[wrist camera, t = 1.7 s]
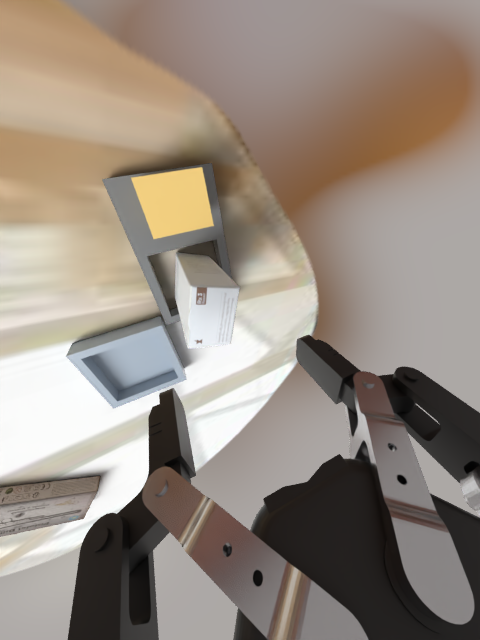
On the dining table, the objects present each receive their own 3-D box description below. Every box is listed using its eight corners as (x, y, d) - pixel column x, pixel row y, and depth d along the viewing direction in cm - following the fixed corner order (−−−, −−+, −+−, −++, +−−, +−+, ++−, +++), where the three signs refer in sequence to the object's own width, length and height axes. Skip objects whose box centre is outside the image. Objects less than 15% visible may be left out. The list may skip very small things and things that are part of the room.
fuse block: (105, 180, 19) (85, 174, 13) (206, 165, 21) (232, 153, 15) (165, 317, 28) (171, 353, 22) (231, 296, 30) (253, 323, 24)
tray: (72, 343, 25) (66, 356, 23) (160, 315, 28) (161, 325, 26) (115, 395, 32) (113, 408, 30) (184, 368, 34) (186, 379, 32)
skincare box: (205, 296, 29) (234, 347, 19) (172, 296, 27) (187, 352, 18) (208, 252, 26) (245, 287, 16) (172, 249, 24) (190, 286, 15)
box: (88, 501, 43) (84, 519, 41) (-35, 523, 34) (-49, 549, 32) (102, 472, 40) (99, 490, 38) (-29, 488, 31) (-44, 514, 28)
